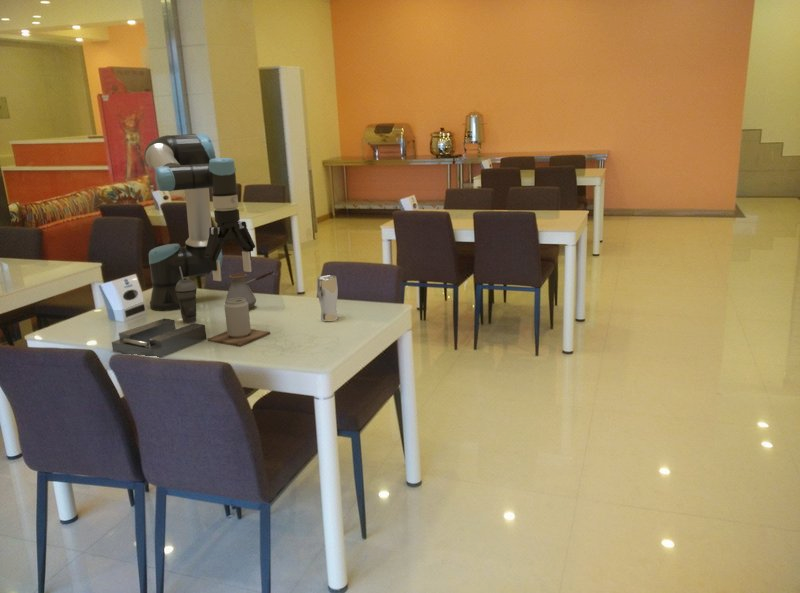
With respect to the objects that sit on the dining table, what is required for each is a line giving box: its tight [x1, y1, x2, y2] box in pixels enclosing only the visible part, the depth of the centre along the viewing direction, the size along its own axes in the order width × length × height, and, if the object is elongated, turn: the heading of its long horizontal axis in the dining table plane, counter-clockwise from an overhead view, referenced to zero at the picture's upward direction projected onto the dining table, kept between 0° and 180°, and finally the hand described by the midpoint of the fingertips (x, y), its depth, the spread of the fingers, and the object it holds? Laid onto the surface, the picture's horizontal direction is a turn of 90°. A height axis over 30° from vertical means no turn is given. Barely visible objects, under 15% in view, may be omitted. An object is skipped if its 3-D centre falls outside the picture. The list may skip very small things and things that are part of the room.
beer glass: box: [316, 274, 339, 322], centre depth 240 cm, size 7×7×15 cm
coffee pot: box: [224, 269, 278, 310], centre depth 257 cm, size 21×12×15 cm, turn 76°
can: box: [223, 297, 252, 338], centre depth 223 cm, size 8×8×12 cm
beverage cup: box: [175, 267, 198, 324], centre depth 243 cm, size 7×7×20 cm
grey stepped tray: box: [111, 318, 208, 358], centre depth 220 cm, size 19×21×5 cm
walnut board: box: [207, 328, 271, 348], centre depth 225 cm, size 14×14×1 cm
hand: (232, 275), depth 220 cm, fingers open, 13 cm apart
